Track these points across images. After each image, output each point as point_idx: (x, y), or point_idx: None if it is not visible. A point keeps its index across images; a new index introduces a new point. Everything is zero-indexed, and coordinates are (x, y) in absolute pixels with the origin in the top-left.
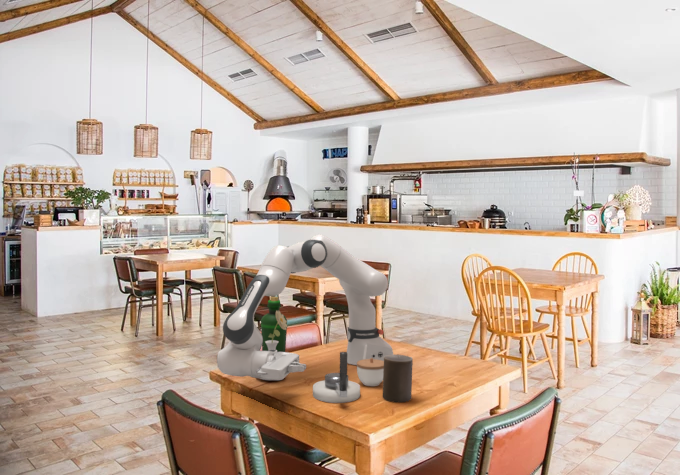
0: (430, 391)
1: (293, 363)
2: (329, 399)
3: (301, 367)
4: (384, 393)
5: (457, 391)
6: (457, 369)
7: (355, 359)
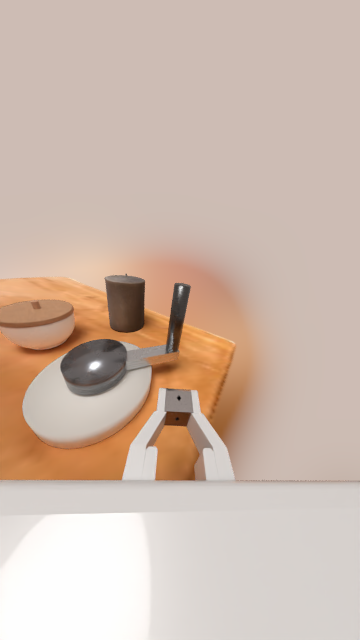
0: None
1: (154, 470)
2: (149, 387)
3: (197, 400)
4: (132, 325)
5: None
6: (40, 288)
7: None
